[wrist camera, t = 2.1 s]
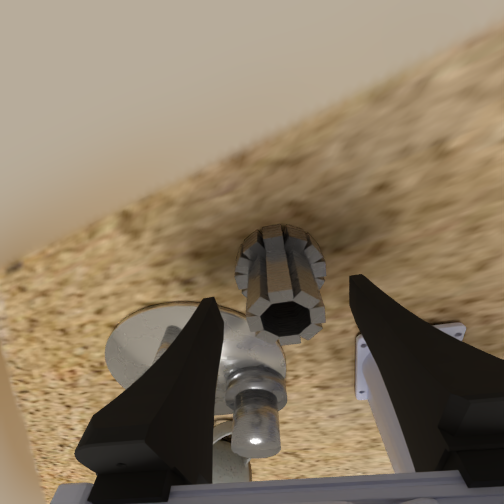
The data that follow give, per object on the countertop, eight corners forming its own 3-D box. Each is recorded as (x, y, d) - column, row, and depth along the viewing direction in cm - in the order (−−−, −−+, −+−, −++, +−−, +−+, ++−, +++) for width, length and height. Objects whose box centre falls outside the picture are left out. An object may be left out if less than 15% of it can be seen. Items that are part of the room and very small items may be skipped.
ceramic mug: (227, 458, 34) (221, 543, 27) (172, 443, 32) (151, 532, 25) (271, 427, 29) (276, 521, 23) (210, 407, 27) (195, 505, 20)
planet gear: (322, 287, 17) (344, 348, 13) (247, 298, 18) (244, 359, 14) (317, 217, 14) (342, 266, 10) (227, 233, 15) (216, 285, 11)
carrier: (295, 402, 26) (303, 471, 21) (154, 415, 28) (132, 480, 23) (268, 287, 17) (273, 357, 13) (70, 317, 19) (10, 387, 15)
